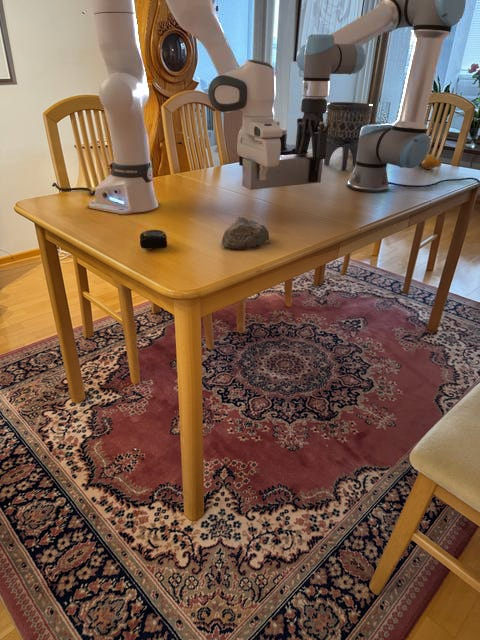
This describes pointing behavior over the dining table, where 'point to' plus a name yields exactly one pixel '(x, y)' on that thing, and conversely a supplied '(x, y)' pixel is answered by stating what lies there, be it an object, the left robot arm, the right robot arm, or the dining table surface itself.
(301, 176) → the bar
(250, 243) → the rock
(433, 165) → the toy
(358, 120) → the planter
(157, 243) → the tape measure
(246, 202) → the dining table surface
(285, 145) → the mechanical component
